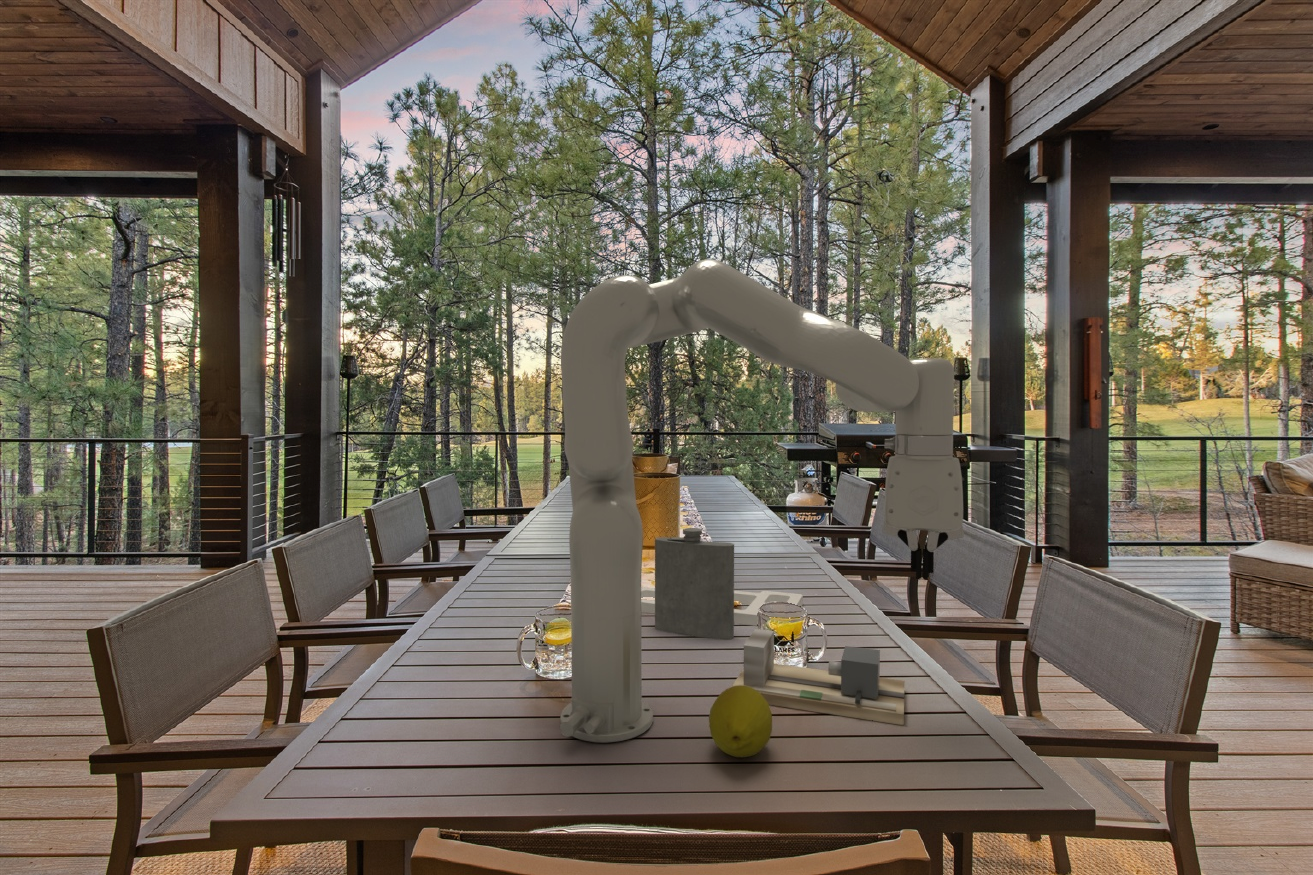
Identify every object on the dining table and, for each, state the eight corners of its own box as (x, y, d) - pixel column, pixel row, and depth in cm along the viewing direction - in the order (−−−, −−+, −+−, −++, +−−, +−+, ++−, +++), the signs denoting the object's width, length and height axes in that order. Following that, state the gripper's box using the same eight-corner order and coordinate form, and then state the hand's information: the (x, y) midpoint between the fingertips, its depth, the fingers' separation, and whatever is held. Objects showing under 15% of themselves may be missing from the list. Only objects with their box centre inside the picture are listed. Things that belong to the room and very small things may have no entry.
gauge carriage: (876, 708, 93) (877, 672, 92) (823, 701, 95) (824, 666, 95) (879, 682, 101) (879, 650, 101) (831, 676, 104) (831, 644, 103)
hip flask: (736, 635, 128) (736, 529, 127) (729, 642, 124) (729, 533, 123) (659, 624, 134) (658, 523, 134) (650, 630, 131) (650, 527, 130)
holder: (580, 607, 148) (580, 595, 147) (615, 587, 164) (615, 575, 164) (787, 632, 131) (788, 618, 131) (803, 606, 148) (803, 594, 148)
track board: (903, 725, 92) (904, 670, 91) (730, 698, 100) (730, 648, 100) (904, 690, 103) (905, 641, 103) (748, 669, 111) (748, 624, 111)
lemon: (722, 728, 91) (722, 669, 90) (780, 739, 88) (781, 679, 87) (695, 768, 81) (695, 702, 81) (759, 782, 78) (759, 714, 77)
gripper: (866, 448, 94) (864, 579, 95) (985, 450, 89) (983, 589, 90) (869, 445, 101) (867, 567, 102) (980, 447, 96) (977, 575, 97)
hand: (921, 577), depth 96 cm, fingers closed
